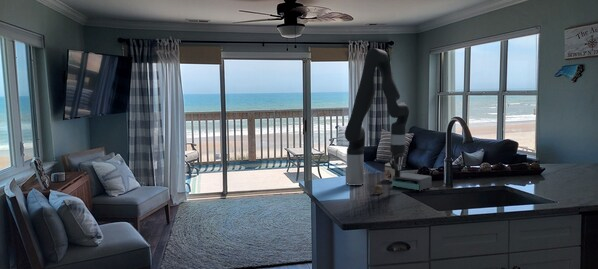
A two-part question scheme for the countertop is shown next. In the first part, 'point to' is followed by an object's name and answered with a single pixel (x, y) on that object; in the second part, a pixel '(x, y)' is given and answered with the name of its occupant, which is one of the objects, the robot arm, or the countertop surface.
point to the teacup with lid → (389, 172)
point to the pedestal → (378, 189)
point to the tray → (405, 184)
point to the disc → (410, 181)
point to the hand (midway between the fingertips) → (397, 177)
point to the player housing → (416, 179)
